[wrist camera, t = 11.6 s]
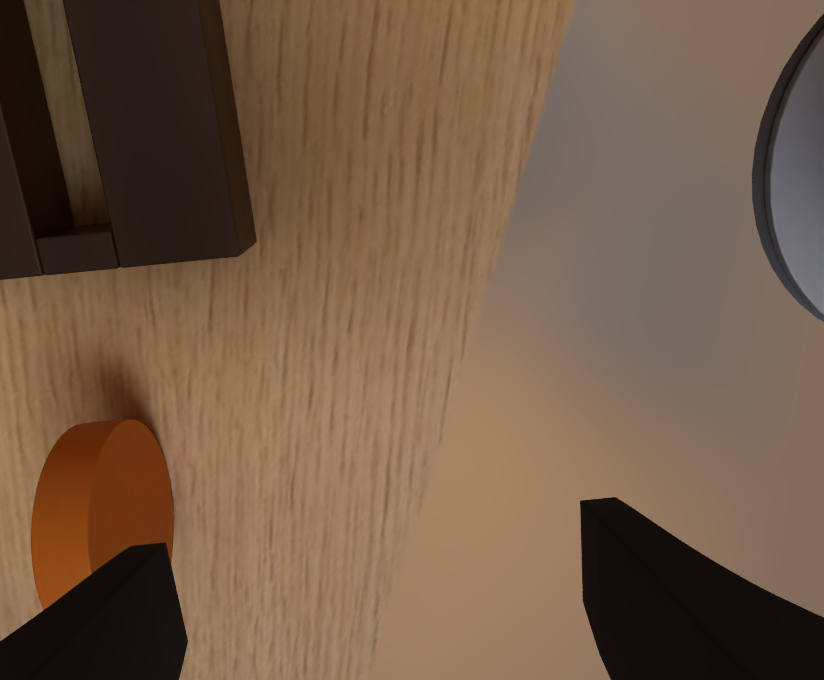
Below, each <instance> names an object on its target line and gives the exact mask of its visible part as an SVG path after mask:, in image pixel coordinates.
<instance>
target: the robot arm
mask: <svg viewBox="0 0 824 680" xmlns="http://www.w3.org/2000/svg"><path fill="white" fill-rule="evenodd" d="M580 506H581V507H580V509H581V541H582V542H581V545H582V584H583V603H584V606H585V610H586V613H587V616H588V619H589V623H590V626H591V629H592V632H593V635H594V638H595V641H596V644H597V648H598V650H599V653H600V656H601V658H602V661H603V663H604V665H605V667H606V670H607V672H608V674H609V676H610V678H611V680H824V617H822V616H819V615H817V614H814V613H812V612H810V611H808V610H806V609H804V608H802V607H800V606H798V605H795V604H793V603H791V602H789V601H787V600H785V599H783V598H780V597H778V596H776V595H774V594H772V593H770V592H768V591H766V590H764V589H762V588H760V587H759V586H757V585H755V584H753V583H751V582H749V581H747V580H746V579H744V578H742V577H740V576H739V575H737V574H735V573H733V572H732V571H730V570H728V569H726V568H724V567H723V566H721V565H719V564H718V563H716V562H714V561H713V560H711V559H709V558H708V557H706V556H704V555H703V554H701V553H700V552H698V551H696V550H695V549H693V548H692V547H690V546H688V545H687V544H685V543H684V542H682V541H681V540H679V539H678V538H676V537H675V536H673V535H672V534H670V533H669V532H667V531H666V530H664V529H663V528H661V527H660V526H658V525H657V524H655V523H654V522H652V521H651V520H649V519H648V518H646V517H645V516H643V515H642V514H640V513H639V512H638V511H636V510H635V509H633V508H632V507H630V506H629V505H627V504H626V503H624V502H622V501H621V500H619V499H617V498H615V497H613V498H603V499H593V500H583V501H580ZM187 643H188V639H187V635H186V630H185V626H184V621H183V617H182V612H181V608H180V603H179V599H178V594H177V590H176V585H175V581H174V576H173V572H172V567H171V563H170V558H169V554H168V549H167V545H166V542H164V543H154V544H144V545H134V546H130V547H128V548H127V549H125V550H124V551H122V552H120V553H119V554H118V555H116V556H115V557H113V558H112V559H111V560H109V561H108V562H106V563H105V564H104V565H102V566H101V567H100V568H98V569H97V570H96V571H94V572H93V573H92V574H91V575H89V576H88V577H87V578H85V579H84V580H83V581H81V582H80V583H79V584H78V585H76V586H75V587H74V588H72V589H71V590H70V591H68V592H67V593H66V594H64V595H63V596H62V597H60V598H59V599H58V600H57V601H55V602H54V603H53V604H51V605H50V606H49V607H47V608H46V609H45V610H43V611H42V612H41V613H39V614H38V615H37V616H35V617H34V618H33V619H31V620H30V621H28V622H27V623H26V624H24V625H23V626H21V627H20V628H19V629H17V630H16V631H14V632H13V633H12V634H10V635H9V636H7V637H6V638H4V639H3V640H2V641H0V680H179V677H180V673H181V669H182V665H183V661H184V656H185V652H186V648H187Z"/></svg>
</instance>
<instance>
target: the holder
mask: <svg viewBox="0 0 824 680" xmlns="http://www.w3.org/2000/svg"><path fill="white" fill-rule="evenodd" d="M63 4H64V8H65V13H66V17H67V22H68V27H69V31H70V36H71V41H72V45H73V50H74V55H75V59H76V64H77V69H78V73H79V78H80V83H81V87H82V92H83V97H84V101H85V106H86V111H87V115H88V120H89V124H90V129H91V134H92V138H93V143H94V148H95V152H96V157H97V162H98V166H99V171H100V176H101V180H102V185H103V190H104V194H105V199H106V204H107V208H108V213H109V218H110V222H111V223H106V224H96V225H85V226H76V227H75V226H74V222H73V218H72V213H71V209H70V205H69V200H68V196H67V192H66V187H65V183H64V179H63V174H62V170H61V166H60V161H59V157H58V152H57V148H56V144H55V139H54V135H53V131H52V126H51V122H50V118H49V113H48V109H47V105H46V100H45V96H44V92H43V87H42V83H41V79H40V74H39V70H38V66H37V61H36V57H35V52H34V48H33V44H32V39H31V35H30V31H29V26H28V22H27V18H26V13H25V9H24V5H23V0H0V280H3V279H14V278H24V277H34V276H42V275H54V274H65V273H75V272H85V271H95V270H106V269H116V268H119V267H123V268H126V267H136V266H146V265H157V264H167V263H177V262H187V261H198V260H208V259H218V258H228V257H238V256H240V255H241V254H242V253H244V252H245V251H246V250H247V249H249V248H250V247H251V246H252V245H254V244H255V243H256V241H257V240H256V233H255V227H254V220H253V214H252V208H251V201H250V195H249V188H248V182H247V176H246V169H245V163H244V157H243V150H242V144H241V137H240V131H239V125H238V118H237V112H236V105H235V99H234V93H233V86H232V80H231V74H230V67H229V61H228V54H227V48H226V42H225V35H224V29H223V22H222V16H221V10H220V3H219V0H63Z"/></svg>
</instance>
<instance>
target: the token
mask: <svg viewBox="0 0 824 680" xmlns="http://www.w3.org/2000/svg"><path fill="white" fill-rule="evenodd" d="M173 532H174V522H173V502H172V493H171V486H170V480H169V475H168V471H167V467H166V463H165V460H164V457H163V454H162V451H161V449H160V447H159V444H158V442H157V440H156V439H155V437H154V435H153V434H152V432H151V431H150V430H149V429H148V427H147V426H146V425H144V424H143V423H142V422H140V421H137V420H135V419H122V420H112V421H102V422H92V423H82V424H79V425H76V426H74V427H72V428H70V429H68V430H67V431H66V432H65V433H64V434H63V435H62V436H61V437H60V438H59V439H58V441H57V442H56V443H55V445H54V446H53V448H52V450H51V451H50V453H49V455H48V457H47V459H46V462H45V464H44V467H43V470H42V472H41V475H40V479H39V482H38V486H37V490H36V495H35V500H34V506H33V515H32V528H31V554H32V564H33V572H34V578H35V584H36V588H37V592H38V595H39V599H40V602H41V604H42V607H43V610H45V609H46V608H47V607H49V606H50V605H51V604H53V603H54V602H55V601H57V600H58V599H59V598H60V597H62V596H63V595H64V594H66V593H67V592H68V591H70V590H71V589H72V588H74V587H75V586H76V585H78V584H79V583H80V582H81V581H83V580H84V579H85V578H87V577H88V576H89V575H91V574H92V573H93V572H94V571H96V570H97V569H98V568H100V567H101V566H102V565H104V564H105V563H106V562H108V561H109V560H111V559H112V558H113V557H115V556H116V555H118V554H119V553H120V552H122V551H124V550H125V549H127V548H128V547H130V546H134V545H144V544H154V543H164V542H166V545H167V549H168V554H169V558H170V563H171V559H172V549H173Z"/></svg>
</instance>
